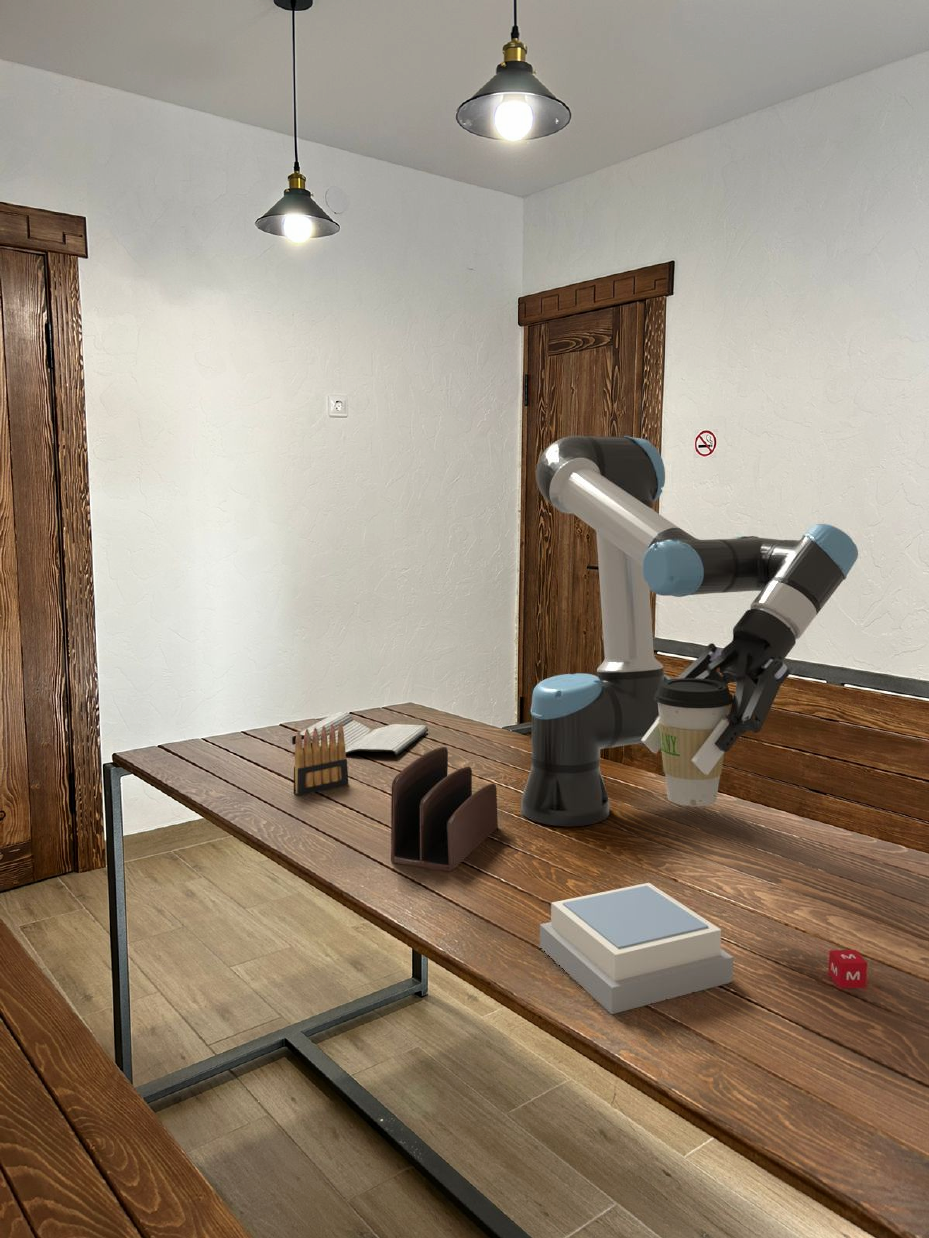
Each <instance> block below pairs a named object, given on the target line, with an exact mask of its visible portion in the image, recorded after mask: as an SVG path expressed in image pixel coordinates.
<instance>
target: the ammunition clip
mask: <svg viewBox="0 0 929 1238" xmlns="http://www.w3.org/2000/svg"><path fill="white" fill-rule="evenodd" d="M305 729H306V731H305V736H304V739H303V740H302V738H301V734H300V732H301V731H300V730H299V729H298V730H297V731H296V734H295V735H296V744H295V747H294V749H295V750H294V766H293V794H295V795H296V796H299V797H300V796H305V795H309V794H314V793H318V792H322V791H328V790H331V789H337V788H341V787H344V786H349V785H350V784H349V771H348V770H349V769H348V758H346V756H347V754H346V751H345V742H344V731H343V726H342V724H341V723H340V724H339V727H338V741H337V744H336V734H335V729H334V726H333V724H332V725H331V727H330V733H329V748H328V741H327V732H326V728H325V726H323V728H322V731H321V746H319V735H318V731H317V728H316V727H315V728H314V731H313V742H312V741H311V740H310V734H309V731H308V729H307V728H305Z"/></svg>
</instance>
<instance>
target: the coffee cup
mask: <svg viewBox="0 0 929 1238" xmlns="http://www.w3.org/2000/svg"><path fill="white" fill-rule="evenodd" d="M733 698H734V695H733V694H732V693H731V692H730V688H729V684H726V683H723V682H720V681H716V680H710V679H700V678H678V679H676V678H670V680H665V681H662V682H661V683H660V685H659V688H658V691H657V692H656V693H655V696H654V700H655V701H657V702H658V709H659V720H658V722H659V732H660V741H661V748H660V751H661V758H662V760H661V761H662V769H663V772H664V775H665V787H666V797H667V799H668V801H669V802H671V803H674V804H676V805H680V806H684V807H707V806H710V805H713V804H715V803H716V802H717V799H718V792H719V785H720V784H719V783H720V777H721V775H722V771H723V765H724V764H723V763H724V757H725V753H724V754H723V755H722V756H721V758H720V759H719V760H718V762H717V763H716V764H715V766H714V767H713V768H712V770H711V771H710V772H709V774H708V775H706V774H704V773H703V772H702V771H701V770H700V769H699V768H698V767H697V766H696V765H695V764H694V763H693V762H692V761H691V760H692V759H693V757H694V756H695V755H696V753H697V752H698V751H699V749H700V748H701V747H702V745H703V744H704V743H705V741H706V740H707V739H708V737H709V736H710V735H711V733H712V732H713V731H714V729H715V728H716V727H717V725H718V724H719V723H720V721H721V720H722V719H723V720H726V721H727V722H729V720H728V719H727V718H726V715H727V716H728V715H729V714H730V706H731V705H732V703H733Z"/></svg>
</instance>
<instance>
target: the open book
mask: <svg viewBox="0 0 929 1238" xmlns="http://www.w3.org/2000/svg"><path fill="white" fill-rule="evenodd" d="M340 723H341V724H342V726H343V731H344V742H345V751H346V755H348V754H350V753H353V752H372V753H374V752H377V753H379V752H380V753H381V752H393V753H394V754H395V756H396V757H395V760H396V759H397V758H398V755H399V754H400V753H401V752H402V751H404V750H405V749H406V748H408V747H409V746H410V745H411V744H412V743H414V742H415V741H417V740H418V739H419V738H421V737H422V736H423V735H426V734H427V732H428V731H429V728H428V727H427V726H426V725H425V724H423V725H422V724H421V725H420V724H399V723H392V724H389V725H386V726H382V727H379V728H375V729H373V730H372V728H369V727H368V726H366V725H364V724H363V723H360V722H358V721H357V720H354V718H353V717H352V715H351V714H349V713H348V712H345V711H343V712H342V711H340V712H339V711H337V712H335V713H333V714H330V715H329V716H328V717H325V718H324V719H322V720H320V721H318V722H317V723H314V724H313V725H310V726H309V727H307V728H305V729H303V730H301V731H300V734H301V738H302V741H304V736H305V731H306V729H308V731H309V734H310V740H311V743H312V742H313V731H314V728H315V727H316V728H317V731H318V735H319V746H321V731H322V728H323V726H325V728H326V732H327V741H328V748H329V733H330V727H331V725H332V724H333V726H334V729H335V734H336V744H337V741H338V727H339V724H340ZM291 744H292V745H296V734H295V735H293V736H292V737H291Z"/></svg>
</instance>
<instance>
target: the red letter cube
mask: <svg viewBox="0 0 929 1238" xmlns="http://www.w3.org/2000/svg"><path fill="white" fill-rule="evenodd" d="M867 972H868V962H867V961H866V960H865V958H864V957H862V955H861V954H860V953H859V952H858V951H857V950H856V949H830V950H829V955H828V973H827V974H828V976H829V977H830V978H831V980H832V981H833V982H834V983H835V984H836V985H837V987H838V988H839V989H851V988H853V989H855V988H857V989H860V988H863V989H864V988H865V989H866V988H867V977H868V976H867V975H868V973H867Z"/></svg>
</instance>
